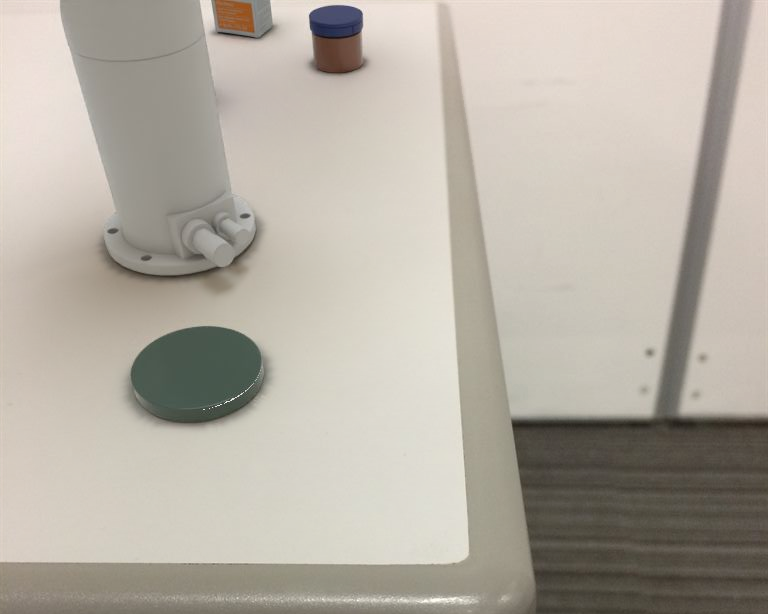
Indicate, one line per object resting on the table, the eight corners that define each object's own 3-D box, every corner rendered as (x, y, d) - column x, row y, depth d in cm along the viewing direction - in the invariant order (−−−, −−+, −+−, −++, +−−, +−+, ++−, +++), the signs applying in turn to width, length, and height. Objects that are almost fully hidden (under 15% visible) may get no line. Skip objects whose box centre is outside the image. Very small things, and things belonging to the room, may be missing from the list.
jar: (373, 63, 93) (371, 19, 90) (334, 77, 91) (331, 32, 87) (342, 49, 96) (340, 6, 92) (304, 62, 93) (300, 19, 90)
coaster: (289, 381, 57) (287, 368, 56) (177, 442, 53) (173, 428, 52) (218, 323, 61) (215, 310, 60) (111, 375, 58) (106, 362, 57)
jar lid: (374, 27, 90) (374, 14, 89) (332, 41, 88) (331, 28, 87) (340, 13, 93) (340, 1, 92) (299, 27, 91) (298, 14, 90)
